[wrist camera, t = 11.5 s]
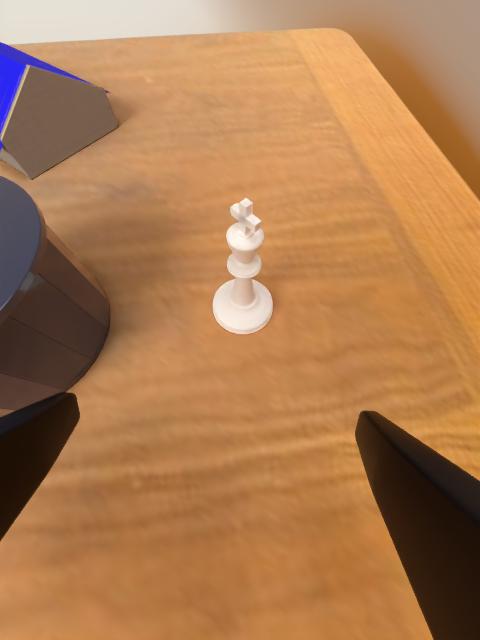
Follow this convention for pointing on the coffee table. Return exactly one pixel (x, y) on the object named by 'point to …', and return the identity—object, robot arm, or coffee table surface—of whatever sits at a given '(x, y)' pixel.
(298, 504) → the coffee table surface
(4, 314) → the pot lid
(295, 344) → the coffee table surface
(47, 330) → the pot
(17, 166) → the toy house
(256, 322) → the chess piece
